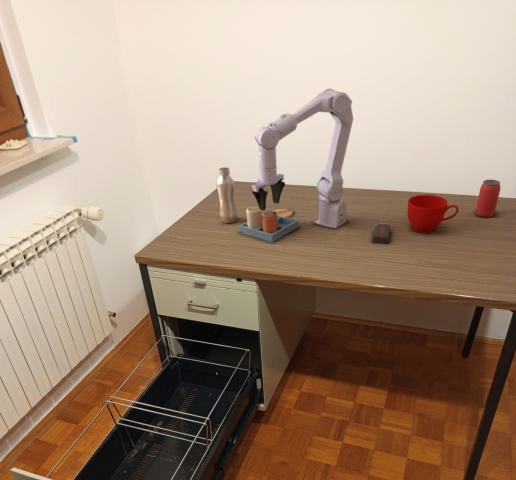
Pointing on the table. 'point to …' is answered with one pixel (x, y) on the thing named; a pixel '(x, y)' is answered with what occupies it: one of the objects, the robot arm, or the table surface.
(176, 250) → the table surface
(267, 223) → the tumbler
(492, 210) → the beer can
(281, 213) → the coaster
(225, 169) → the plastic bottle
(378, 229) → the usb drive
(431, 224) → the ceramic cup
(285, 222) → the rack
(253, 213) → the cream tumbler
